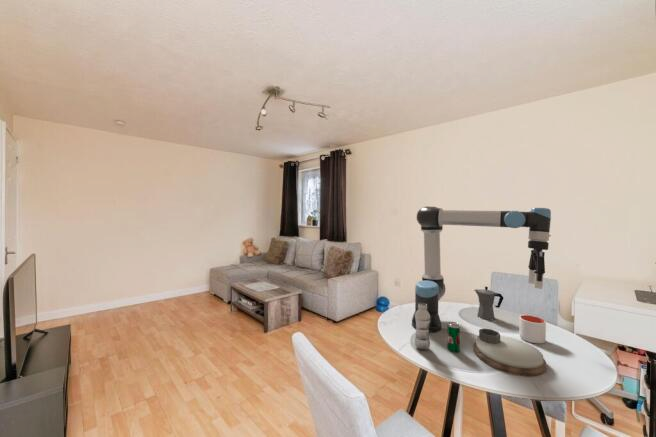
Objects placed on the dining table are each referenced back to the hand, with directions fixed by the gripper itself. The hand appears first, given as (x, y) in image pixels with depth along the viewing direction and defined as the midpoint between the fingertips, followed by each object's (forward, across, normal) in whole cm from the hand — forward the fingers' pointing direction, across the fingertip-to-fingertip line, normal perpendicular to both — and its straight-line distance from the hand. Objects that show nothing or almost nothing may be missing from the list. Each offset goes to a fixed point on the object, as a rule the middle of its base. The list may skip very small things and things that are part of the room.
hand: (534, 285), depth 123 cm
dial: (+27, -20, +12) cm, 35 cm away
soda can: (+31, -24, +31) cm, 50 cm away
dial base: (+29, -20, +11) cm, 37 cm away
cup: (+27, +5, -2) cm, 27 cm away
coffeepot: (+26, +26, +16) cm, 40 cm away
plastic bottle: (+32, -29, +44) cm, 61 cm away
